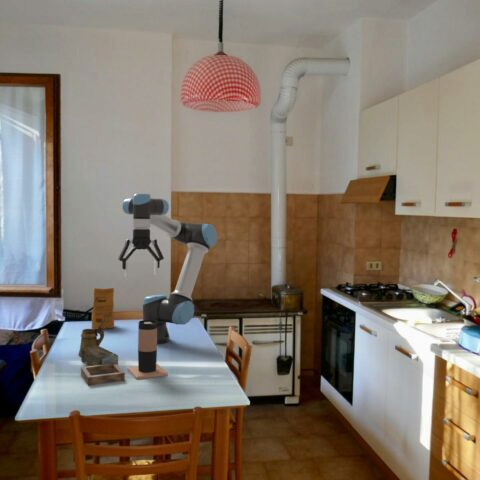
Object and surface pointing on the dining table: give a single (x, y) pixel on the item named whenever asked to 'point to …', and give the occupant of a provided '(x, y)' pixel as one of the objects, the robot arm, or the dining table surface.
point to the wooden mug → (92, 336)
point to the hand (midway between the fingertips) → (141, 276)
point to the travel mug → (147, 346)
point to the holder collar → (104, 378)
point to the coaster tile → (140, 375)
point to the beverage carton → (98, 356)
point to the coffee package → (103, 308)
